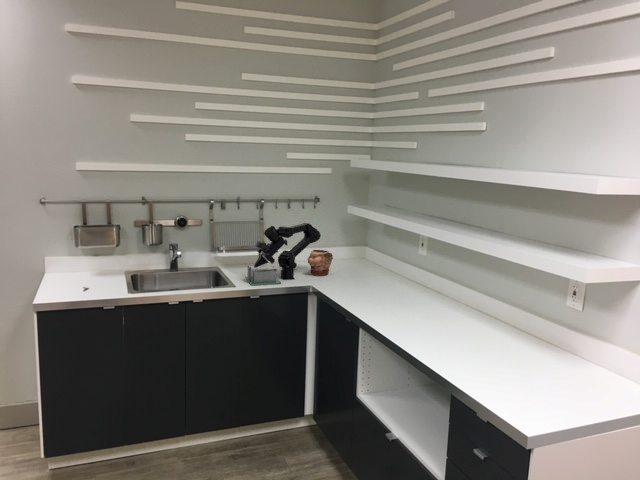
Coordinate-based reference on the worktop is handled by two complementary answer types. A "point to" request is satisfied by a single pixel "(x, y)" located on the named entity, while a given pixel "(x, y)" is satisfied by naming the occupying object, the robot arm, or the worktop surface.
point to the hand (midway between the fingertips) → (254, 266)
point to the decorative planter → (320, 262)
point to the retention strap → (262, 268)
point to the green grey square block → (262, 277)
